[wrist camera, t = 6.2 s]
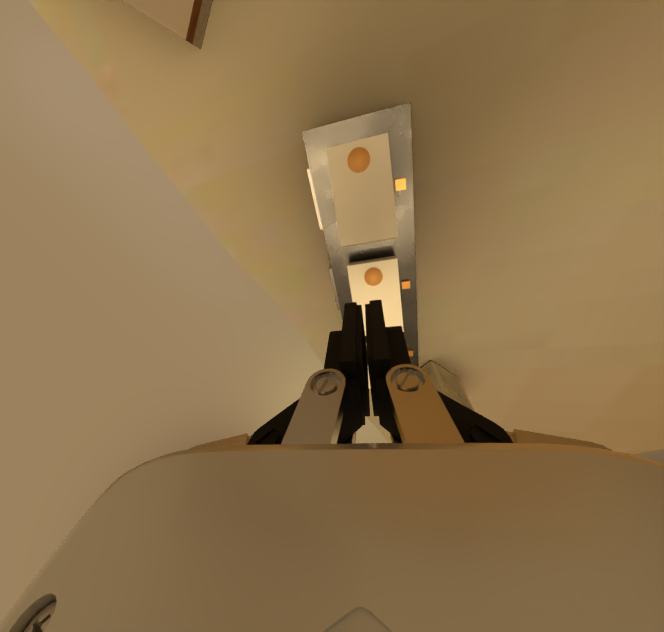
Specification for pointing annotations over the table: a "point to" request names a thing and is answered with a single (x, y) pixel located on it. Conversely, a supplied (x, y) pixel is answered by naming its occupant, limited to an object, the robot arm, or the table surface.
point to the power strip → (403, 246)
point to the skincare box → (447, 383)
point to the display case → (178, 16)
